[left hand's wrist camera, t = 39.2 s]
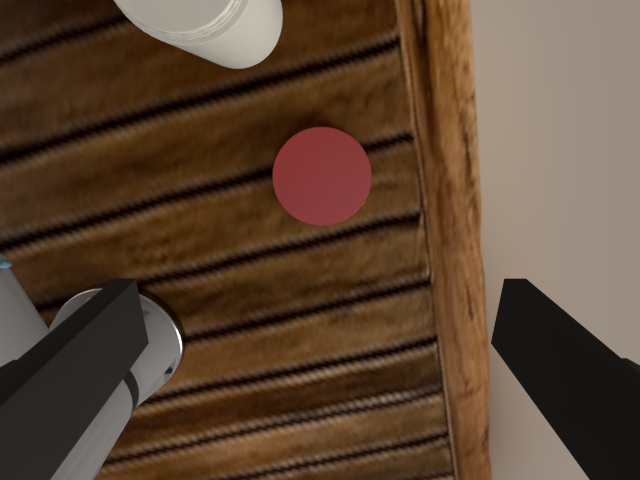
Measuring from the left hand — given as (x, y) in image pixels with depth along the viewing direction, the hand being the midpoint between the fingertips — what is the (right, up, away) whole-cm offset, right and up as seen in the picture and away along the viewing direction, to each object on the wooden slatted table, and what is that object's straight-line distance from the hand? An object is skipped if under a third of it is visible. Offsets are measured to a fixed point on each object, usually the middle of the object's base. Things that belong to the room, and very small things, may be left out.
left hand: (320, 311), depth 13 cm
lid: (0, +9, +23) cm, 25 cm away
